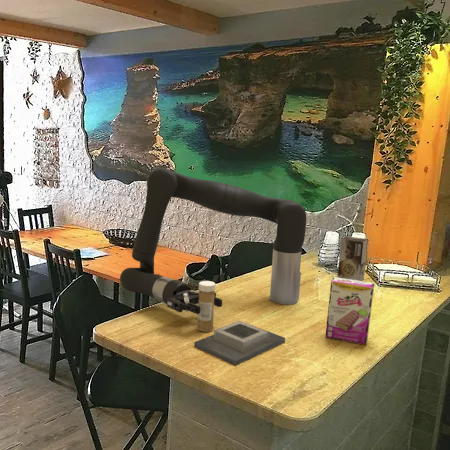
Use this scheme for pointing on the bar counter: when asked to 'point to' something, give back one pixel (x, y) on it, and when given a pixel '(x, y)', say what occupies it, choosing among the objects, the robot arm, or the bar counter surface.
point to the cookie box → (352, 258)
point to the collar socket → (238, 342)
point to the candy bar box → (349, 310)
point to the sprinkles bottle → (206, 306)
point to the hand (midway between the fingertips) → (210, 306)
